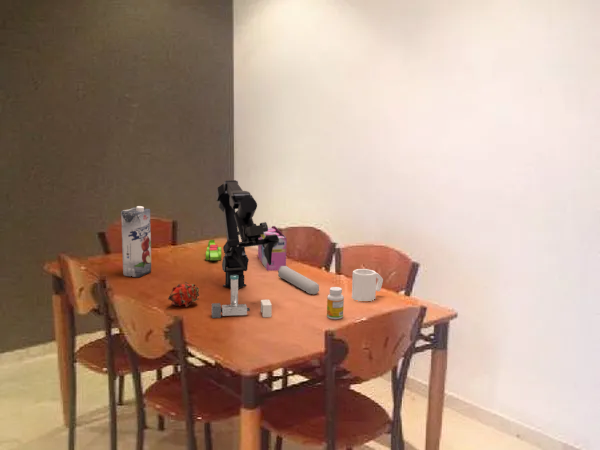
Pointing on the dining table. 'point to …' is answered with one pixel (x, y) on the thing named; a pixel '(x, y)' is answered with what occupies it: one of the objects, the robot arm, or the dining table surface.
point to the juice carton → (136, 241)
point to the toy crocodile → (213, 251)
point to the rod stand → (218, 310)
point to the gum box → (274, 250)
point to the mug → (365, 284)
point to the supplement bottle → (335, 303)
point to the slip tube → (234, 300)
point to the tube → (298, 280)
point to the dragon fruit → (184, 294)
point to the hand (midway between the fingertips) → (257, 266)
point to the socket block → (266, 308)
